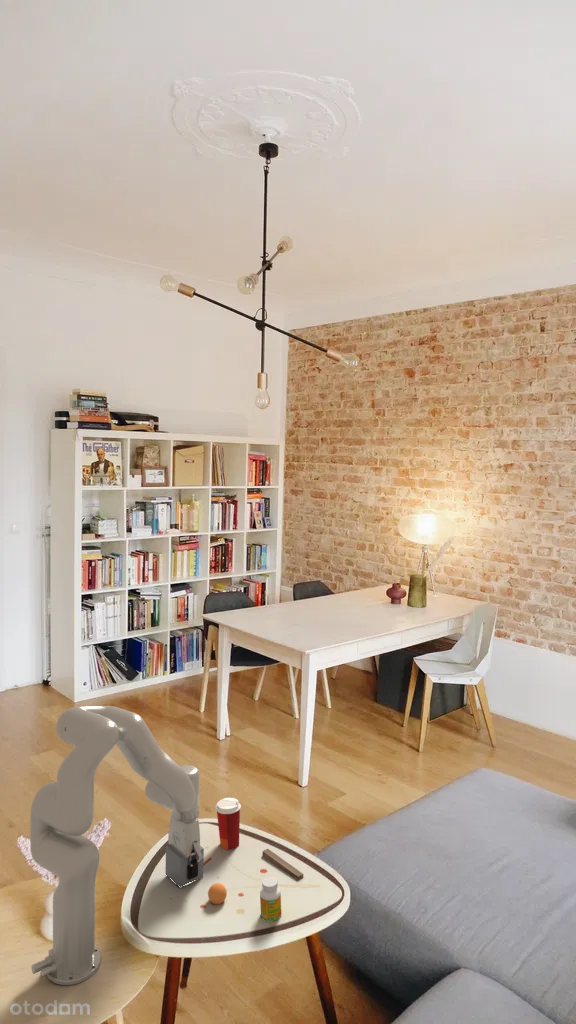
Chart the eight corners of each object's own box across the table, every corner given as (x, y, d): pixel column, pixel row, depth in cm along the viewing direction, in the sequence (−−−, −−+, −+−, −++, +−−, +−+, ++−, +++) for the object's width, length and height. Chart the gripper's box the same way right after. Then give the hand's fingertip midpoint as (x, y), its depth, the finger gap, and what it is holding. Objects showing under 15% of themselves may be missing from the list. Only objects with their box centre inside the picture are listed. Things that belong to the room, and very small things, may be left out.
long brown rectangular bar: (297, 885, 191) (298, 876, 191) (262, 858, 203) (262, 850, 203) (303, 882, 193) (303, 873, 192) (267, 856, 205) (267, 848, 204)
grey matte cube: (179, 888, 188) (180, 858, 187) (165, 875, 194) (165, 845, 193) (203, 878, 193) (203, 848, 192) (188, 865, 199) (188, 836, 198)
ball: (214, 910, 179) (215, 892, 179) (204, 901, 183) (204, 883, 183) (230, 903, 183) (230, 885, 182) (219, 893, 186) (219, 876, 186)
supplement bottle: (267, 927, 174) (266, 891, 173) (257, 915, 178) (255, 880, 177) (285, 918, 177) (284, 883, 176) (274, 907, 181) (273, 872, 180)
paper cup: (244, 839, 212) (242, 796, 211) (240, 854, 205) (238, 810, 203) (219, 839, 213) (217, 796, 212) (214, 853, 206) (212, 809, 204)
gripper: (158, 802, 196) (157, 861, 197) (191, 828, 183) (189, 890, 184) (180, 794, 201) (179, 851, 202) (214, 819, 188) (212, 880, 189)
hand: (184, 870), depth 193 cm, fingers closed on grey matte cube, 7 cm apart
